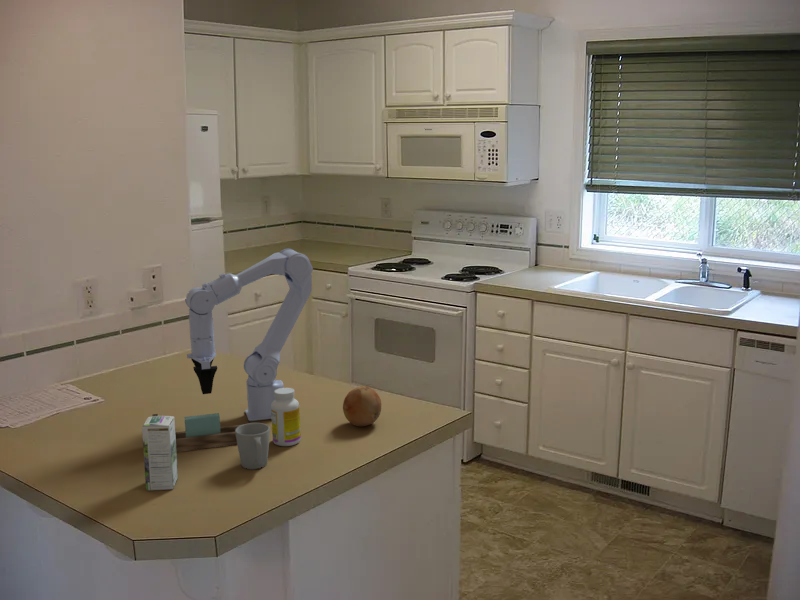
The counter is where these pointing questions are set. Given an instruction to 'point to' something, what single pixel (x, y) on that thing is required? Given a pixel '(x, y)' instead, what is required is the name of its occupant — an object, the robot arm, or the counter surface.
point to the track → (206, 439)
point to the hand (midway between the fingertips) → (205, 388)
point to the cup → (253, 444)
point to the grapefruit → (362, 406)
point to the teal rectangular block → (202, 425)
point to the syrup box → (160, 453)
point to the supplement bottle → (285, 418)
